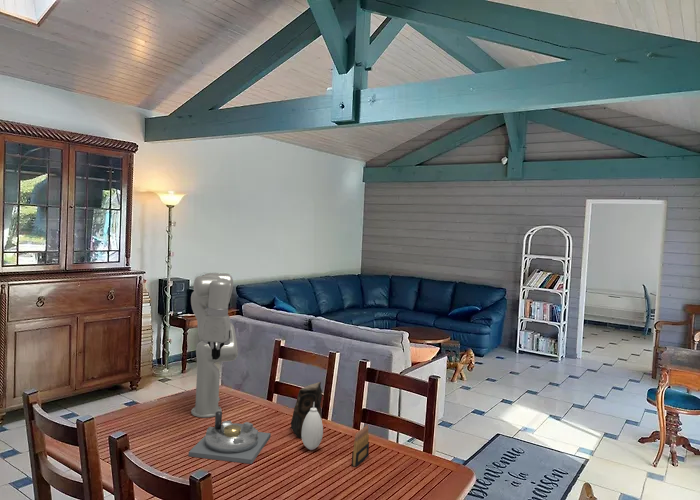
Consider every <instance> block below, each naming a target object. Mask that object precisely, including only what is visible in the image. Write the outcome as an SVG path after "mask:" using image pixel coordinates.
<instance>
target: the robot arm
mask: <svg viewBox="0 0 700 500" xmlns="http://www.w3.org/2000/svg"><path fill="white" fill-rule="evenodd" d="M192 286H193V291H192V292H191V296H190V305H191V310H192V313H193V314H194V316H195V319H196V321H197V322H196V323H197V334H198V339H199V342H198V343H197V344H196V347H195V355H196V387H195V405H194V407H192V409H191V410H190V411H191V412H190V413H191V415H192V416H194V417H197V418H213V417H214V418H215V414H216V412H218V411H221V412H223V410H222V407H220V406H219V402H220V400H221V398H220V397H219V395H220V379H221V378H220V377H221V376H220V375H221V373H220V369H219V368H218V366H217V365H216V364H215V363H222V362H223V363H224V362H225V363H226V362H227V363H228V362H233V361H235V360H236V359H237V358H238V356H239V355H238V353H239V349H238V339H237V334H236V329H235V326H234V324H233V323H232V322H231V318H230V315H229V304H230V301H231V296H232V293H233V288H234V279H233V277H232V275H231V274H230V273H221V272H209V273H204V274H203V275H201V276H196V277H195V278H194V281H193V285H192Z"/></svg>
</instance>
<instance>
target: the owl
mask: <svg viewBox="0 0 700 500" xmlns="http://www.w3.org/2000/svg"><path fill="white" fill-rule="evenodd" d="M321 385H322V382H321V381H318V382H315V383H311V384H309V385H306V386H304V387H302V388H300V389H299V390H298V393H297V397H296V403H295V405H294V408H293V412H292V417H291V421H290V429H291V430H292V432H293V434H294V435H295V436H296V438H297V439H301V440H302V436H301V432H302V425H303V422H304V419H305V417H306V415H307V414H308V412H309V411H310V408H313V403H314V408H317V412H318V413H319V415H320V417H321V418H322V416H323V414H322V410H323V409H322V407H321V405H322V398H323V390H322V386H321Z"/></svg>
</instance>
